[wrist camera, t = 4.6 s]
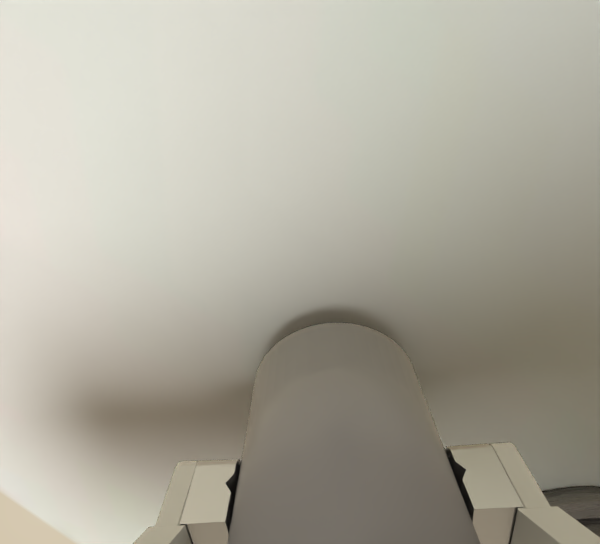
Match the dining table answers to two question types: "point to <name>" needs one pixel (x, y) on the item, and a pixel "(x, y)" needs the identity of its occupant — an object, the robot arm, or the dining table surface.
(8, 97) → the dining table surface
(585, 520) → the faceted grey ring
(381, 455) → the grey cylinder
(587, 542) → the robot arm
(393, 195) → the dining table surface
